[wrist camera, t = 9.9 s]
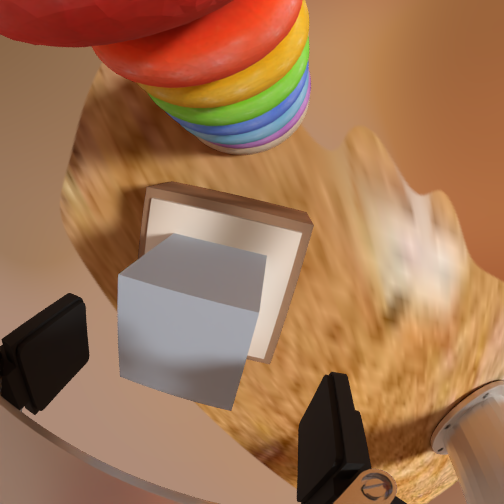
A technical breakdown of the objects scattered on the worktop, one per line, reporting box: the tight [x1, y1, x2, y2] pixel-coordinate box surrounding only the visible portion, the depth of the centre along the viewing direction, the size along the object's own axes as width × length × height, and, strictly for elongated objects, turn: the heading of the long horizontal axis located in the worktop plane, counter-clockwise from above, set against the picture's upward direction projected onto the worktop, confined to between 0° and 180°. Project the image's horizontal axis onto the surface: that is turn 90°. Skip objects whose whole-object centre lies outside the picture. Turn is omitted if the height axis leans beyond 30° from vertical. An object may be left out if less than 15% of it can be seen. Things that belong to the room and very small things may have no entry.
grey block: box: [118, 233, 267, 411], centre depth 13 cm, size 5×5×6 cm
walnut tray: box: [138, 182, 314, 364], centre depth 18 cm, size 9×9×4 cm
